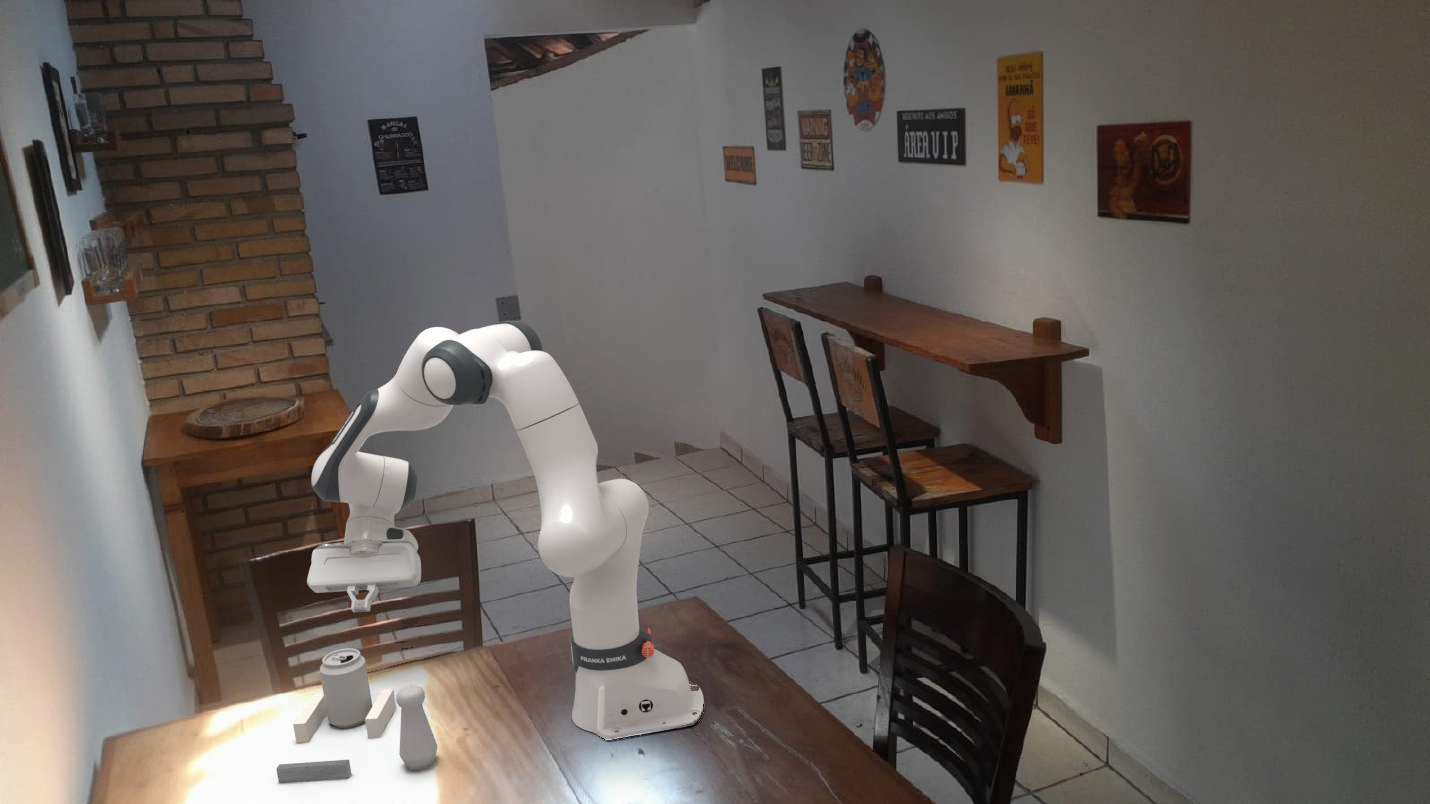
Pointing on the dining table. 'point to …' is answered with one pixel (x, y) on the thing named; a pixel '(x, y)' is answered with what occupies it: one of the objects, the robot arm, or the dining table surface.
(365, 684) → the can
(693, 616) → the dining table surface
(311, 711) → the chute
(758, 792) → the dining table surface
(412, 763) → the salt shaker
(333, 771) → the end bar
